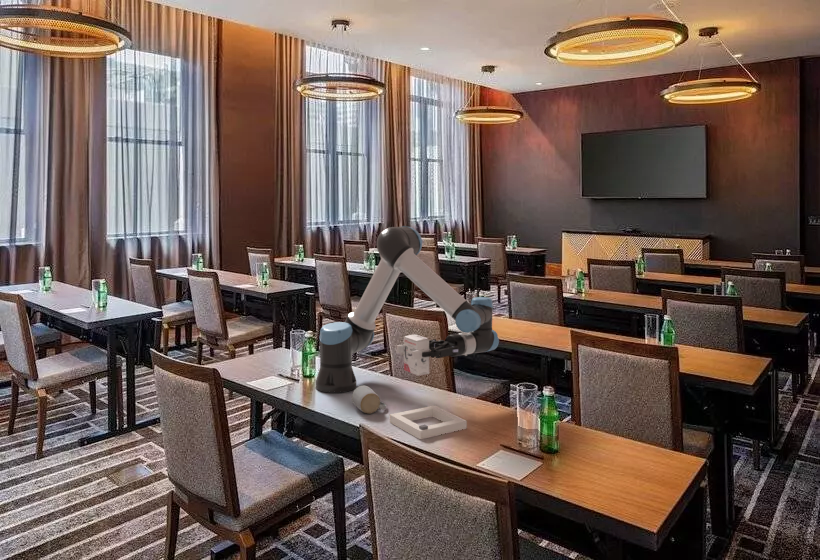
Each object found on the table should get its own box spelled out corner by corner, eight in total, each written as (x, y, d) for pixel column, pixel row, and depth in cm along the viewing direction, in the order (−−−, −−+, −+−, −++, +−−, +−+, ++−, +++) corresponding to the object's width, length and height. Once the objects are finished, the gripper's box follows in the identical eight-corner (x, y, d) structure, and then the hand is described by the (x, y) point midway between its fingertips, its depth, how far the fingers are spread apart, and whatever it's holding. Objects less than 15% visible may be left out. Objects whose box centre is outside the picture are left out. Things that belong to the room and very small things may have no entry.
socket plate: (389, 422, 193) (389, 411, 193) (434, 412, 202) (434, 403, 202) (420, 439, 179) (420, 428, 179) (466, 428, 188) (466, 418, 188)
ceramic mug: (360, 416, 198) (361, 393, 197) (351, 408, 206) (351, 386, 205) (390, 412, 203) (391, 389, 202) (380, 405, 210) (380, 383, 210)
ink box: (402, 370, 207) (403, 335, 206) (415, 368, 210) (415, 333, 209) (417, 376, 200) (417, 340, 199) (430, 374, 203) (430, 338, 202)
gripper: (479, 361, 206) (423, 371, 193) (441, 349, 224) (387, 357, 211) (479, 339, 205) (423, 347, 193) (441, 328, 223) (387, 335, 210)
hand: (404, 352), depth 202 cm, fingers closed on ink box, 9 cm apart
